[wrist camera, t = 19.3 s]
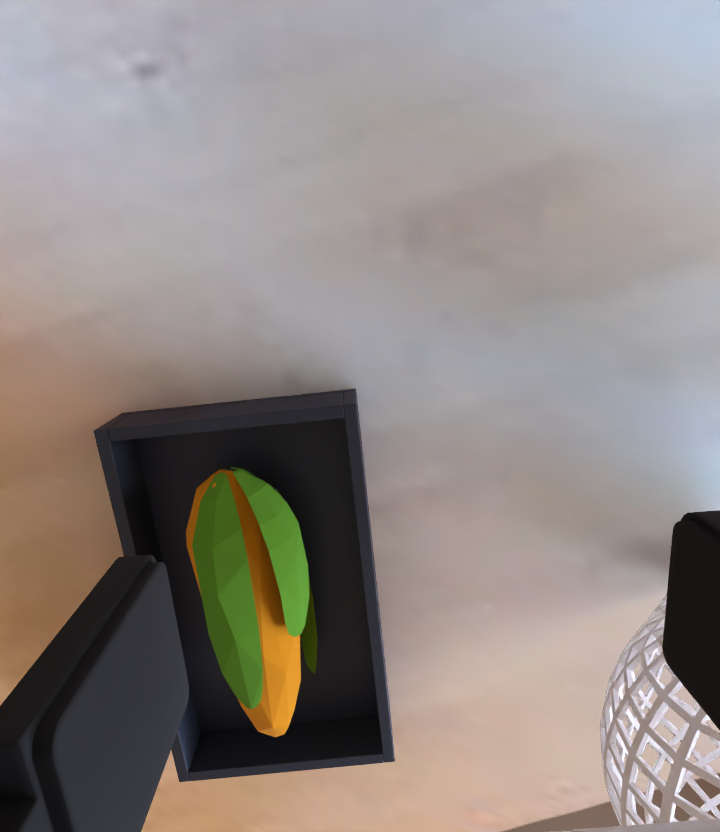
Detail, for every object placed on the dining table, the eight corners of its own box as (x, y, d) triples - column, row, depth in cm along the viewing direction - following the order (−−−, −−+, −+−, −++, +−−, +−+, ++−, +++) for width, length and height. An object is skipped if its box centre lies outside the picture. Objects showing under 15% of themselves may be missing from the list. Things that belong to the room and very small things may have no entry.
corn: (277, 490, 28) (330, 785, 33) (300, 444, 35) (340, 692, 41) (142, 503, 29) (214, 791, 34) (192, 455, 36) (246, 698, 41)
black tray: (195, 734, 42) (179, 782, 38) (121, 412, 35) (93, 430, 32) (390, 715, 42) (394, 761, 38) (355, 388, 35) (356, 403, 31)
